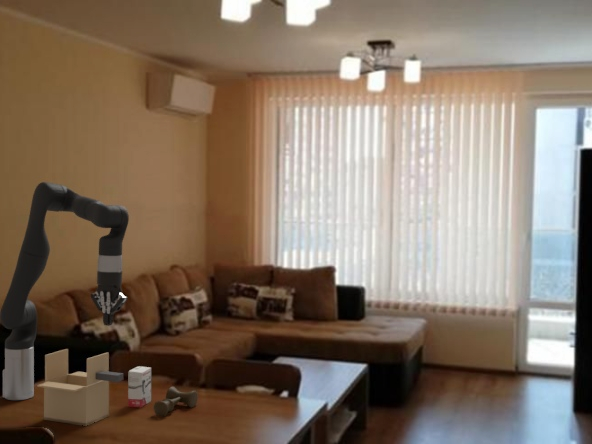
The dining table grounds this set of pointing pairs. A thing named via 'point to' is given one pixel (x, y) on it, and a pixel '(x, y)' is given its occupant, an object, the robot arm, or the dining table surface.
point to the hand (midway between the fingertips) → (108, 325)
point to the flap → (101, 370)
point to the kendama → (175, 401)
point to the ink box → (139, 386)
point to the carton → (72, 393)
